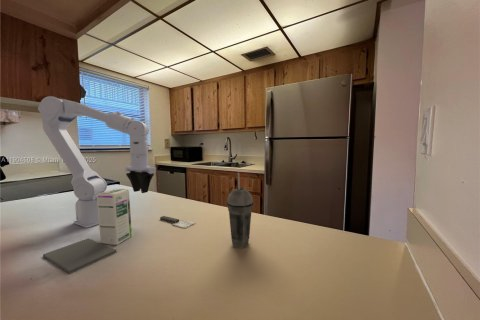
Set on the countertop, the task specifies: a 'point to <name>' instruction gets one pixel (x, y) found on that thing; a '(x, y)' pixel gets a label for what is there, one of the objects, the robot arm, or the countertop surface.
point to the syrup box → (114, 216)
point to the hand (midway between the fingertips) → (140, 191)
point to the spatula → (178, 222)
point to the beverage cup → (240, 215)
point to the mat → (79, 254)
